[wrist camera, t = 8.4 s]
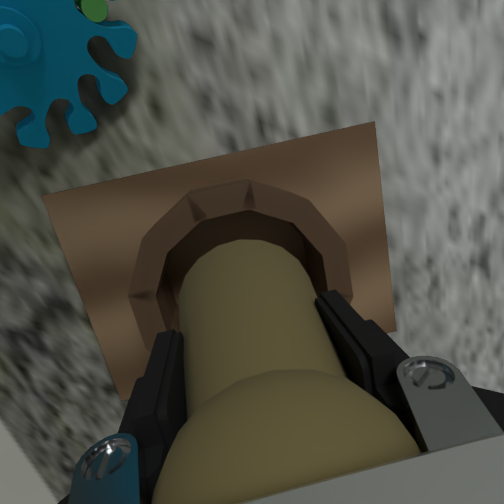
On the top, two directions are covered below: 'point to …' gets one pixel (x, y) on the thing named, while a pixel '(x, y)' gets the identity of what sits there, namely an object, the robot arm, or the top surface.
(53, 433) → the top surface
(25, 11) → the gear
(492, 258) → the top surface
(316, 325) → the cork
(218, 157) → the shaker stand
